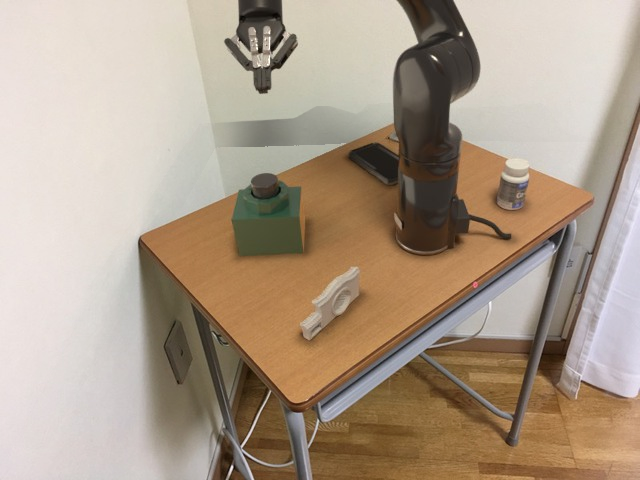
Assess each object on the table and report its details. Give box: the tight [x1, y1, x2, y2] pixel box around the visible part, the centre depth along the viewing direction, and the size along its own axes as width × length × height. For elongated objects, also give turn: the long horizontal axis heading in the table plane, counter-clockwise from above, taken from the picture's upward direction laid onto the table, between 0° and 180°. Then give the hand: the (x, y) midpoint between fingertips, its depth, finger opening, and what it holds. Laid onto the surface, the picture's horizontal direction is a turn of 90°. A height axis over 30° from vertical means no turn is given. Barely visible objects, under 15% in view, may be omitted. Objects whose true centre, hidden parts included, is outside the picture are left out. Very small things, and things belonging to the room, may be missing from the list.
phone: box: [348, 142, 399, 186], centre depth 108 cm, size 8×1×15 cm
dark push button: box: [250, 172, 279, 200], centre depth 85 cm, size 4×4×2 cm
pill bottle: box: [496, 157, 531, 211], centre depth 92 cm, size 5×5×8 cm
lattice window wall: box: [299, 266, 361, 342], centre depth 74 cm, size 12×2×6 cm, turn 139°
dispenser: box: [231, 179, 306, 257], centre depth 88 cm, size 11×9×10 cm
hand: (263, 91), depth 88 cm, fingers closed
